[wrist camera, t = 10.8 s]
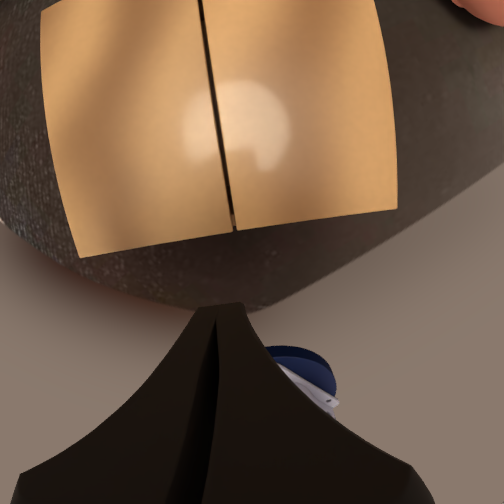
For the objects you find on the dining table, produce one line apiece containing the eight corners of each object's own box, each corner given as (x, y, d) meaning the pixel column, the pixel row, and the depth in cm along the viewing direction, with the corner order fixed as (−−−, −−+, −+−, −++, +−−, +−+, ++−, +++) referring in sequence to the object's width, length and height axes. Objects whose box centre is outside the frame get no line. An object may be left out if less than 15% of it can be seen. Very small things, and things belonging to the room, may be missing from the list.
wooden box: (315, 9, 13) (362, -44, 6) (338, 177, 18) (399, 210, 11) (102, 44, 13) (39, 11, 6) (129, 210, 17) (78, 259, 11)
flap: (357, -40, 7) (360, -44, 6) (393, 206, 11) (397, 209, 11) (197, -39, 7) (196, -43, 6) (237, 227, 11) (237, 231, 11)
